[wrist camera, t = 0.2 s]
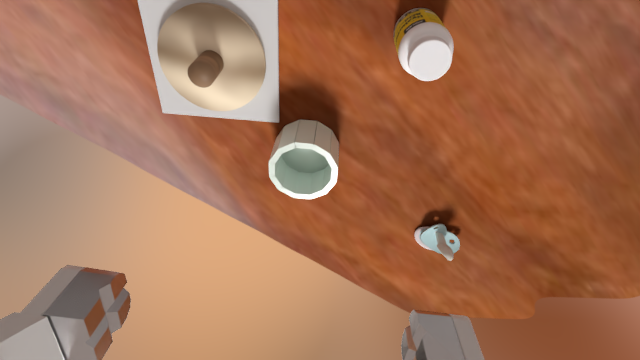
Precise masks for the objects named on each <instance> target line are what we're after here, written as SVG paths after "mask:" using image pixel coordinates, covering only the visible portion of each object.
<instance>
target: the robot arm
mask: <svg viewBox="0 0 640 360" xmlns="http://www.w3.org/2000/svg"><path fill="white" fill-rule="evenodd" d="M126 283H127V280H126V277H125V274H123V273H118V272H111V271H105V270H99V269H92V268H85V267H77V266H71V265H67V266H65V267H63V268H61V269H60V270H59V271H58V273H56V275H55V276H54V277H53V278H52V279H51V280H50V281H49V282H48V283H47V284H46V286H45V287H44V288H43V289H42V290H41V291H40V292H39V293H38V294H37V295H36V296H35V297H34V298H33V300H32V301H31V302H30V303H29V304H28V305H27V306H26V307H25V308H24V309H23V310H22V312H21V313H12V314H10V315H8V316H6V317H4V318H2V319H0V360H102V358H103V357H104V355H105V353H106V352H107V350H108V348H109V347H110V345H111V343H112V342H113V341H112V335H111V334H112V333H113V332H115V331H116V330H118V329H119V328H121V327H122V325H123V323H124V321H125V320H126V318H127V315H128V312H129V309H130V302H131V299H130V294H129V292H128V291H126V290H125V289H124V288H123V287H124V286H125V284H126ZM409 321H410V326H408V327H406V328H405V330H404V333H403V337H402V345H401V346H402V359H403V360H484V357H483V355H482V352H481V349H480V346H479V343H478V341H477V338H476V335H475V332H474V330H473V327H472V324H471V321H470V319H469V318H468V317H467V316H461V315H453V314H447V313H439V312H430V311H421V310H413V311H412V312H411V314H410V317H409Z"/></svg>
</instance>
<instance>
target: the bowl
mask: <svg viewBox="0 0 640 360" xmlns="http://www.w3.org/2000/svg"><path fill="white" fill-rule="evenodd" d="M338 159H339V142H338V140H337V138H336V137H335V135H334V133H333V131H332V130H331V129H330V128H328V127H326V126H325V125H323V124H322V123H320V122H318V121H313V120H301V119H300V120H297V121H295V122H292V123H290V124H288V125H285V126H284V127H283V129H282V130H281V132H280V133H279V135H278V136H277V138H276V140H275V144H274V147H273V150H272V153H271V156H270V160H269V177H270V179H271V180H272V182H273V183H274V184H275V186H276V187H277V189H279V190H280V191H282V192H283V193H285V194H287V195H289V196H291V197H294V198H301V199H310V198H311V199H313V198H316V197H319V196H322V195H325V194H327V193H328V192H329V190H330V189H331V188H332V187H333V186H334V185H335V184H336V182H337V174H338Z"/></svg>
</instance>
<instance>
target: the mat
mask: <svg viewBox="0 0 640 360" xmlns="http://www.w3.org/2000/svg"><path fill="white" fill-rule="evenodd" d="M193 3H213V4H217V5H221V6H223V7H226V8H228V9H230V10H232V11H233V12H235V13H237V14H238V15H239V16H241V17H242V18H243V19H244V20H245V21H246V22H247V23H248V24H249V25H250V26H251V27H252V28H253V30H254V31H255V33H256V34H257V36H258V38H259V40H260V42H261V44H262V46H263V49H264V53H265V58H266V73H265V78H264V81H263V84H262V86H261V88H260V90H259V92H258V93H257V95H256V96H255V97H254V98H253V99H252V100H251V101H250V102H249V103H247V104H246V105H244V106H242V107H240V108H238V109H235V110H231V111H213V110H208V109H204V108H202V107H199V106H197V105H195V104H193V103H191V102H190V101H188V100H186V99H185V98H184V97H183V96H181V95H180V94H179V93H178V92H177V91H176V90H175V89H174V88H173V87H172V85H171V84H170V83H169V81H168V80H167V78H166V76H165V75H164V73H163V71H162V68H161V66H160V62H159V59H158V52H157V43H158V36H159V33H160V30H161V28H162V26H163V24H164V23H165V21H166V20H167V19H168V18H169V16H170V15H172V14H173V13H174V12H176V11H177V10H179V9H180V8H182V7H184V6H186V5H190V4H193ZM138 4H139V9H140V13H141V18H142V22H143V27H144V31H145V35H146V40H147V44H148V49H149V53H150V58H151V62H152V67H153V71H154V76H155V80H156V85H157V89H158V93H159V98H160V102H161V107H162V111H163V113H169V114H181V115H193V116H205V117H217V118H229V119H241V120H253V121H265V122H277V123H279V31H278V0H138Z"/></svg>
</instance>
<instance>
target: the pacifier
mask: <svg viewBox="0 0 640 360" xmlns="http://www.w3.org/2000/svg"><path fill="white" fill-rule="evenodd" d="M420 234H421V235H420ZM414 236H415V239H416V241H417V242H418V243H419V244H420V245H421V246H422V247H424V248H426V249H429V250H434V251H436V252H438V253H440V254H443V255H444V256H445V257H446V258H447V259H448V260H449V261H451V260H452V259H453V256H454V254H453V253H455V252H457V251H458V249H459V247H460V242H459V239H458V238H457V236H456V235H455V234H453V233H451V232H449V231H447V229H446V226H445V225H443V224H436V225H433V226H431V227H420V228H418V229H417V230H416V231H415V235H414ZM451 239H452V240H454V243H451V242H449V240H451Z"/></svg>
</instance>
